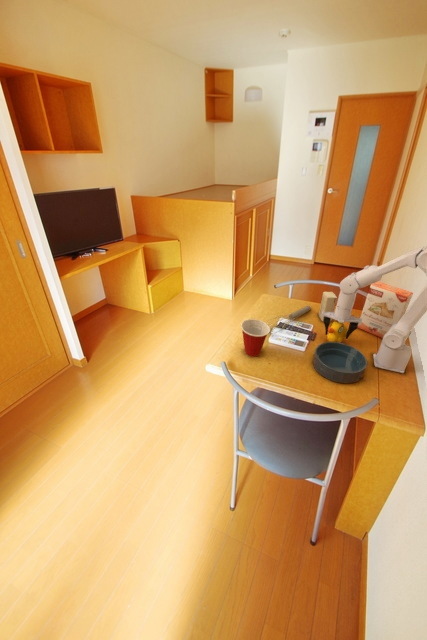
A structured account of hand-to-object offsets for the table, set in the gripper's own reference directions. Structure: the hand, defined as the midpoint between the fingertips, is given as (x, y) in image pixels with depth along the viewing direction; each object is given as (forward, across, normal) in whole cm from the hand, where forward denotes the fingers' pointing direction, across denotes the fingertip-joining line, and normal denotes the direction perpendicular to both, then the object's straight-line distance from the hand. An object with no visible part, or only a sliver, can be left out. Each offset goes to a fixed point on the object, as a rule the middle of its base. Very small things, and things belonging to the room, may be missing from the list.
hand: (336, 335), depth 116 cm
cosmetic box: (+3, -5, +18) cm, 19 cm away
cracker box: (+3, +16, +14) cm, 22 cm away
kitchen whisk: (+3, -20, +9) cm, 22 cm away
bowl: (+3, +2, -16) cm, 16 cm away
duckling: (+3, 0, 0) cm, 3 cm away
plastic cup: (+3, -29, -19) cm, 35 cm away
